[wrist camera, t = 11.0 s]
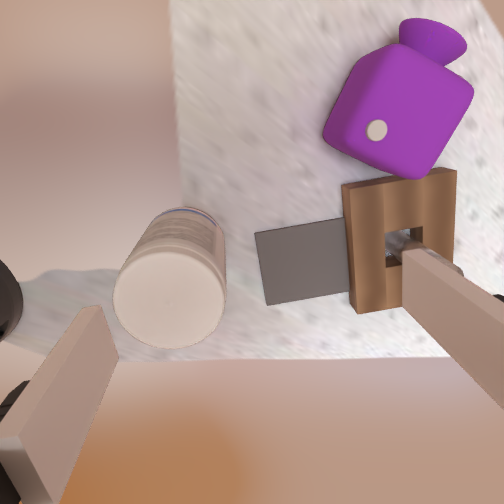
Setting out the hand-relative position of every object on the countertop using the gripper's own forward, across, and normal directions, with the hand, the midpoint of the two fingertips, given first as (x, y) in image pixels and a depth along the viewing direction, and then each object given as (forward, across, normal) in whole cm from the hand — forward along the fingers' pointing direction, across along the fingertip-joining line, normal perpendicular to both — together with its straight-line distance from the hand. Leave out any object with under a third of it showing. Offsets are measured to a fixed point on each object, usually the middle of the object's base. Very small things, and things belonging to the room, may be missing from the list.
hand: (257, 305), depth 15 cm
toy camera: (+27, +17, +7) cm, 33 cm away
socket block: (+27, +19, -10) cm, 34 cm away
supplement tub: (+28, -7, -6) cm, 29 cm away
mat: (+27, +8, -11) cm, 30 cm away
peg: (+27, +19, -10) cm, 34 cm away
